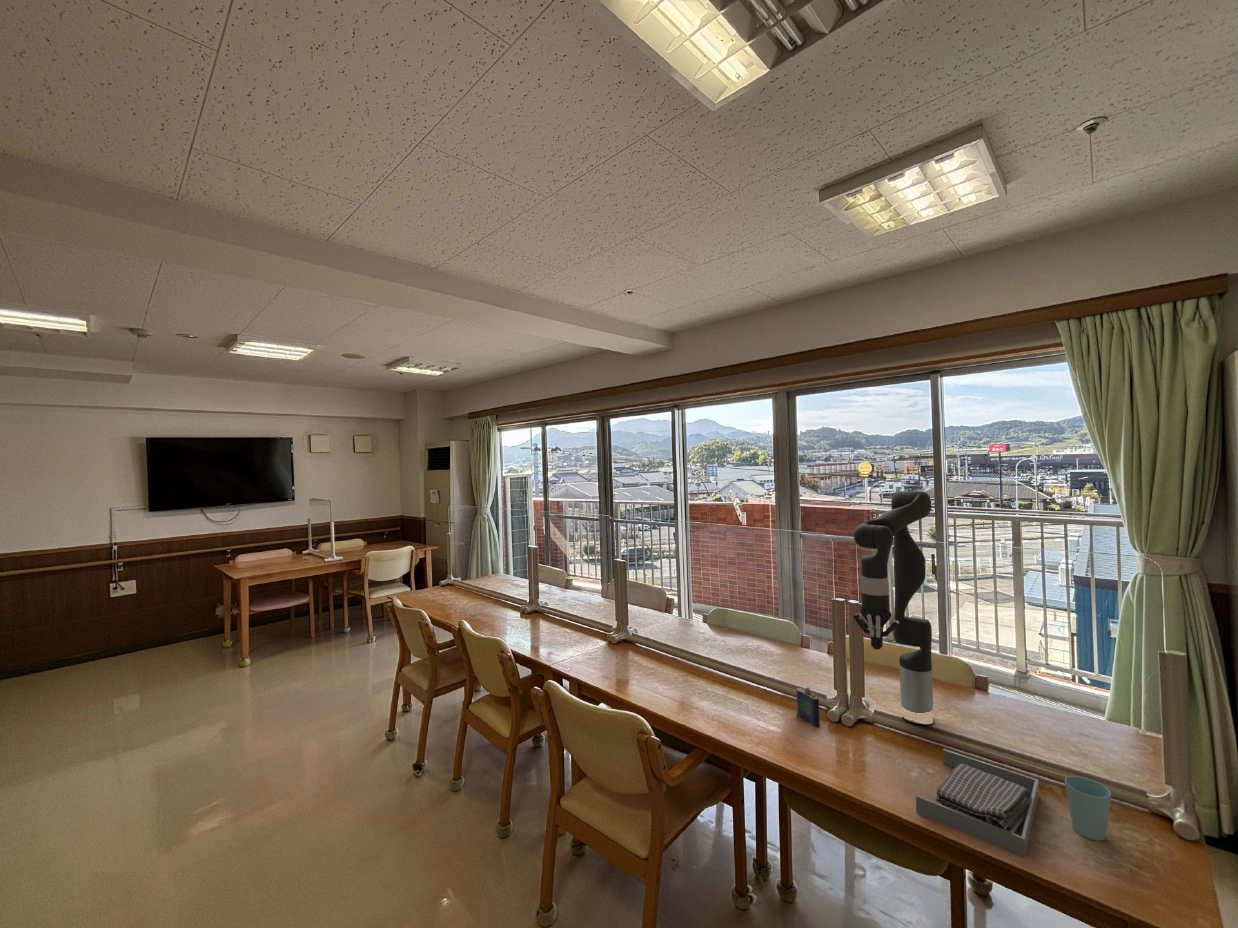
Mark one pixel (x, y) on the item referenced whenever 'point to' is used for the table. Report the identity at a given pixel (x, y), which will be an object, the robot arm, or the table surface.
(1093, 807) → the cup
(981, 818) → the towel
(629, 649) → the table surface
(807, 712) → the flask
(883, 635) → the robot arm
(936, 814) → the tray
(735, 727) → the table surface
